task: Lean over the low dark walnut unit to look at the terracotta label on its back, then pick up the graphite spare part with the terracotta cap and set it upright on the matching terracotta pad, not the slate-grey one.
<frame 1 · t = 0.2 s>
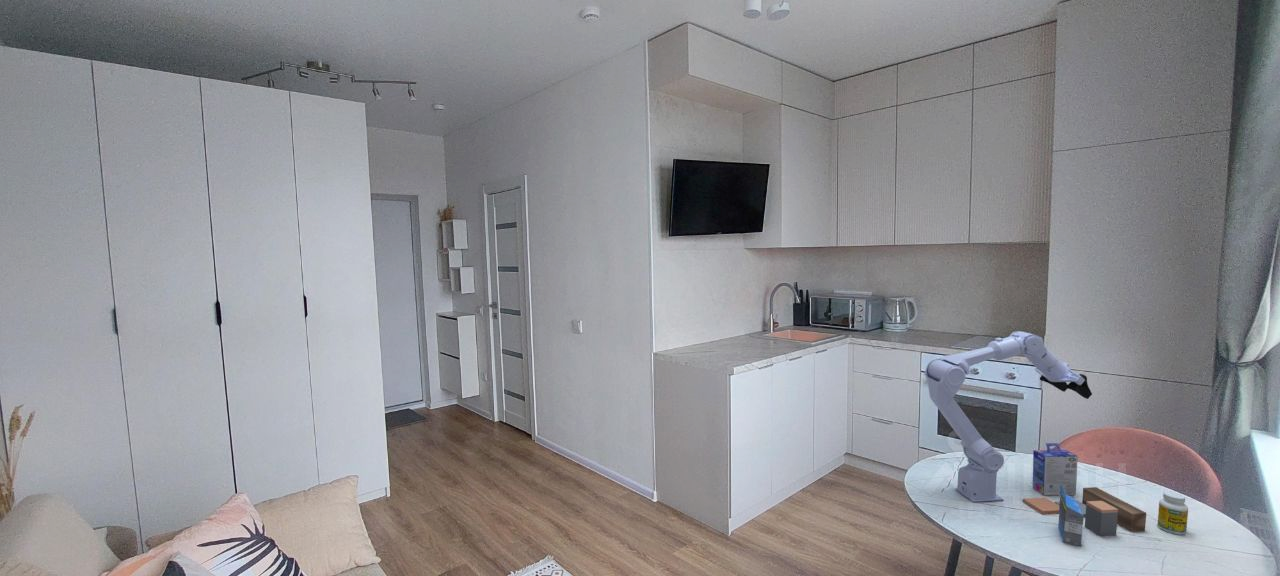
hand: (1077, 392, 154), 31 cm above the table, tool tilted 45°, fingers open, 7 cm apart
label tape cartridge: (1069, 536, 135), on the table
ink cartridge box: (1053, 491, 158), on the table
supplement bottle: (1171, 530, 137), on the table
terracotta pad: (1044, 507, 148), on the table
walnut unit: (1111, 517, 143), on the table
graphite spare part: (1100, 531, 136), on the table
slate pad: (1076, 510, 146), on the table
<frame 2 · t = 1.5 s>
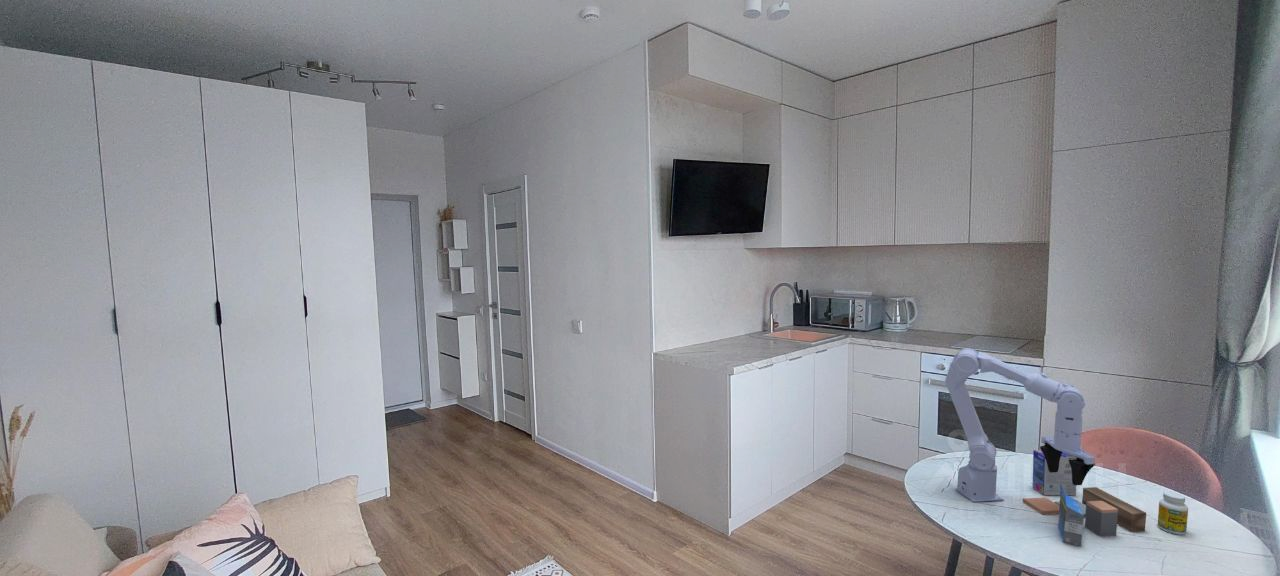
hand: (1064, 478, 144), 10 cm above the table, tool pointing down, fingers open, 7 cm apart
nothing on the table moved.
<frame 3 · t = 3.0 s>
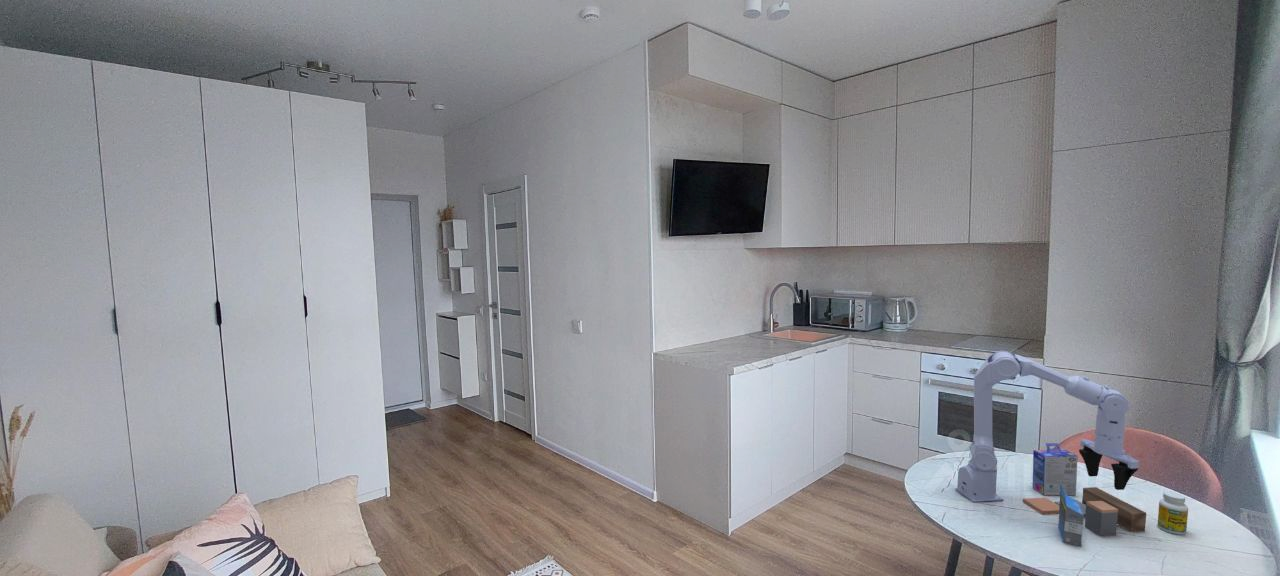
hand: (1105, 482, 141), 10 cm above the table, tool pointing down, fingers open, 7 cm apart
nothing on the table moved.
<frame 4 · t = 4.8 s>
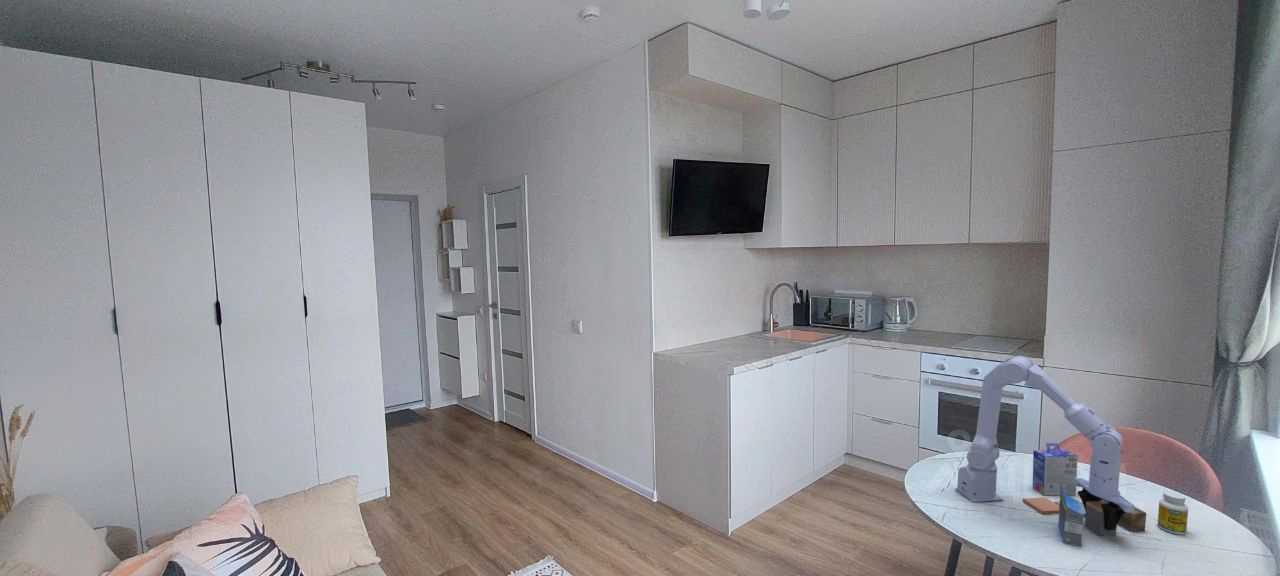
hand: (1100, 524, 136), 2 cm above the table, tool pointing down, fingers closed on graphite spare part, 4 cm apart
graphite spare part: (1100, 531, 136), on the table, touching gripper
everything else where it was.
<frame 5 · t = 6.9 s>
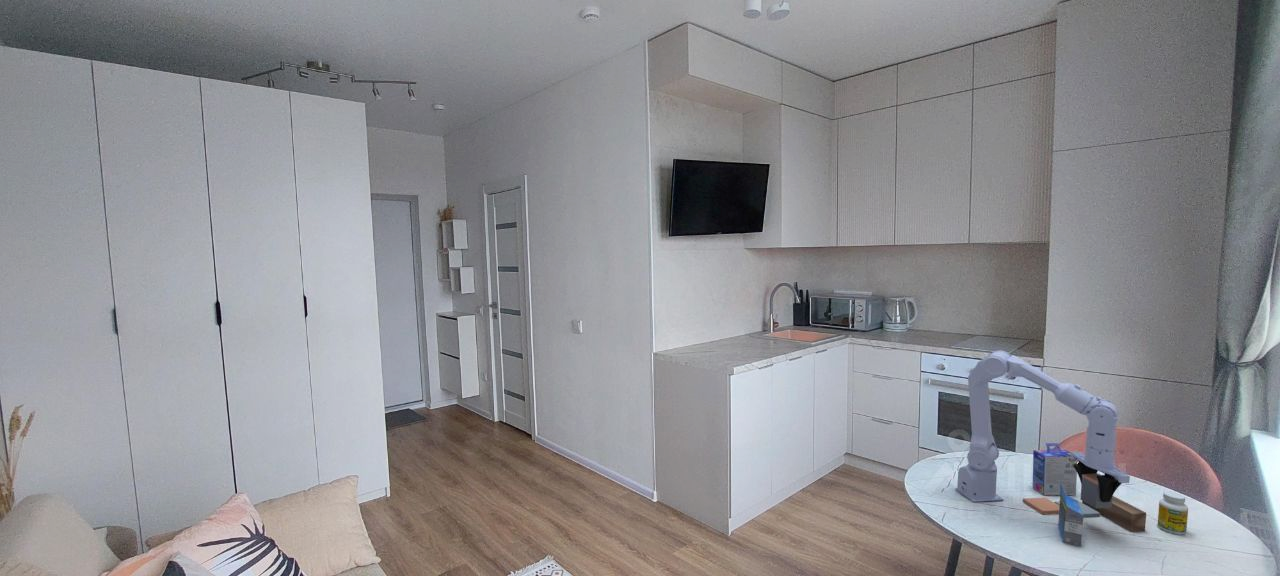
hand: (1096, 496, 137), 9 cm above the table, tool pointing down, fingers closed on graphite spare part, 4 cm apart
graphite spare part: (1095, 503, 137), point 7 cm above the table, touching gripper
everything else where it was.
when the fingers open (4 cm above the table, at t = 9.2 s): graphite spare part stays where it is, resting on terracotta pad.
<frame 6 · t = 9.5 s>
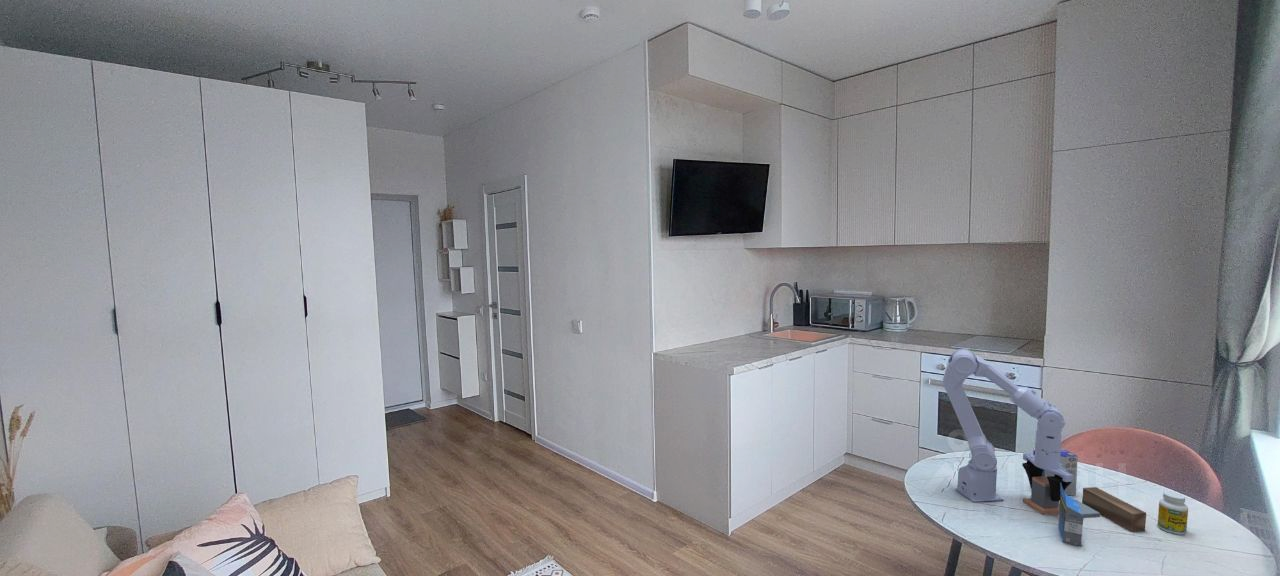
hand: (1044, 494, 148), 4 cm above the table, tool pointing down, fingers open, 6 cm apart
graphite spare part: (1044, 504, 148), point 1 cm above the table, touching terracotta pad
everything else where it was.
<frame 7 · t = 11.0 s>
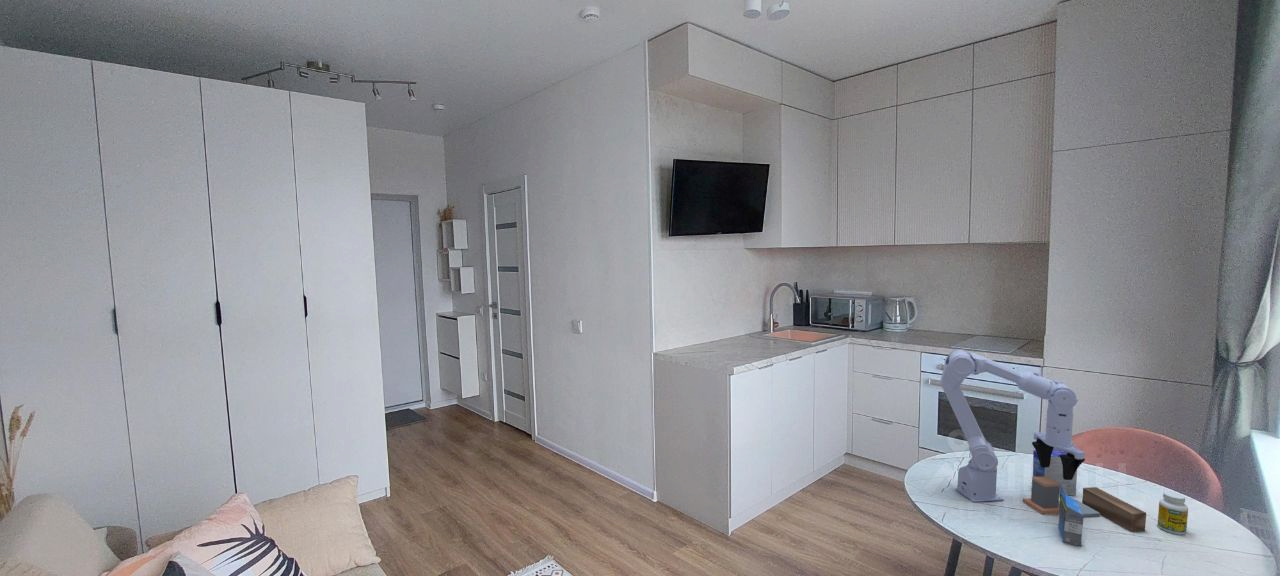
hand: (1056, 473, 147), 10 cm above the table, tool pointing down, fingers open, 7 cm apart
nothing on the table moved.
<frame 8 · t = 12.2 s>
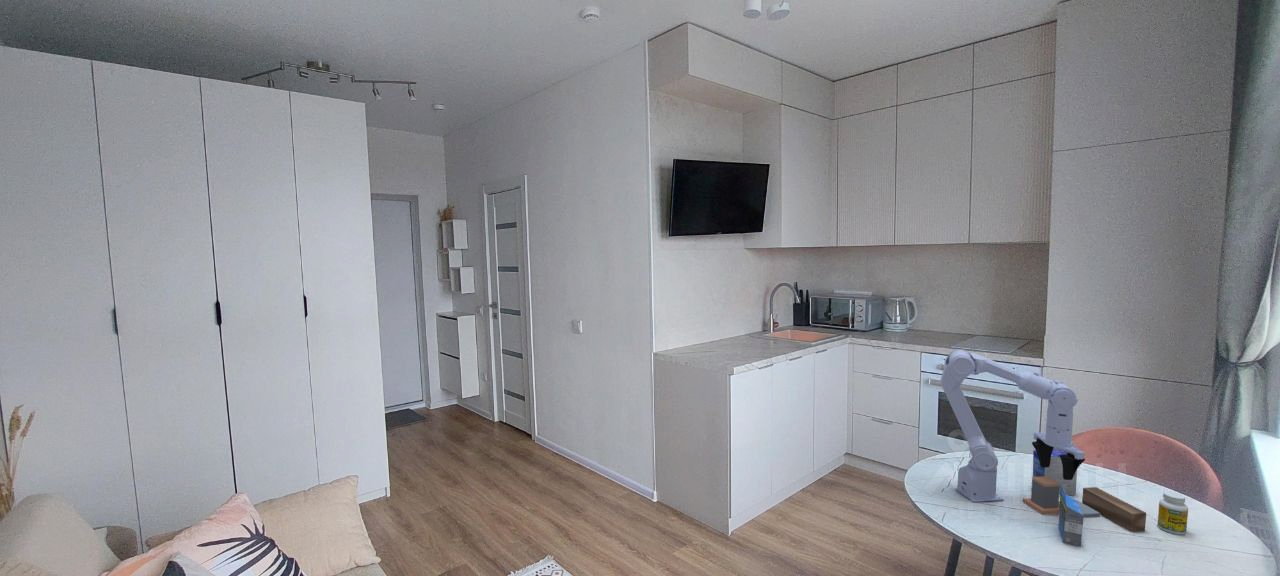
hand: (1056, 473, 147), 10 cm above the table, tool pointing down, fingers open, 7 cm apart
nothing on the table moved.
at the end: graphite spare part 0.0 cm off-centre on the terracotta pad, point 1.0 cm above the terracotta pad's base; graphite spare part tilted 0°; the gripper is holding nothing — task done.
